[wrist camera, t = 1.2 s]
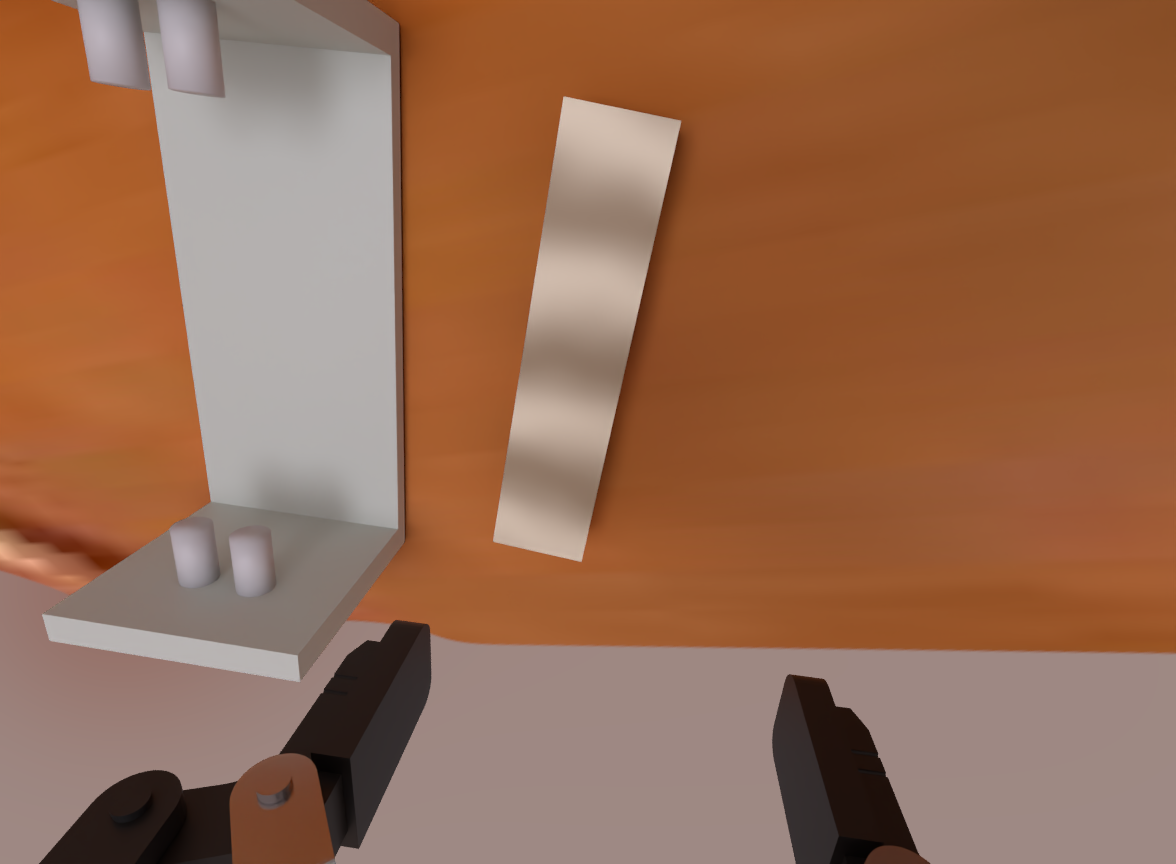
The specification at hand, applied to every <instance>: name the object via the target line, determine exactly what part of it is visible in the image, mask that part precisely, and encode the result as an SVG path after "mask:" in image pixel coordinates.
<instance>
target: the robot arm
mask: <svg viewBox="0 0 1176 864" xmlns="http://www.w3.org/2000/svg"><path fill="white" fill-rule="evenodd" d="M430 684H431V647H430V627H429V625H428V624H422V623H415V622H408V621H400V620H395V621H394V622H393V623H392V624H391V626H390V627H389V629H388V631H387V632H386V634H385V635H384V637H383V638H382V640H381V641H380V642H376V641H369V640H367V641H366V642H364V643H363V644H362V645H360V646H359V647H358V648H356V649H355V650H354V651H352V652H351V653H350V654H348V655H347V656H346V658H345V659H344V661H343V662H342V664H341V665H340V667H339V668H338V670H337V671H336V673H335V675H334V678H331V680H330V681H329V683H328V684H327V686H326V687H325V688H324V692H323V693H321V694H320V696H319V697H318V699H317V700H316V702H315V703H314V705H313V706H312V707H311V709H310V710H309V712H308V713H307V715H306V716H305V718H304V719H303V721H302V722H301V724H300V725H299V726H298V728H297V729H296V731H295V732H294V734H293V735H292V737H291V738H290V740H289V741H288V742H287V744H286V745H285V747H284V748H283V750H282V751H281V752H280V754H279V755H275V756H272V757H269V758H267V759H265V760H263V761H261V762H259V763H257V764H256V765H254V766H253V767H251V768H250V769H249V770H248V771H247V772H245V773H244V774H243V776H242V777H241V778H240V779H239V780H238V781H236V782H233V783H228V784H223V785H216V786H209V787H203V788H196V789H189V790H182V786H181V783H180V780H179V779H178V777H176V776H175V775H174V774H172V773H170V772H167V771H162V770H153V771H147V772H142V773H138V774H135V775H132V776H130V777H128V778H126V779H123V780H121V781H119V782H118V783H116V784H114V785H113V786H111V787H110V788H108V789H107V790H106V791H105V792H103V793H102V794H101V795H100V796H99V797H97V798H96V799H95V801H94V802H93V803H92V804H91V805H90V806H89V807H88V808H87V809H86V811H85V812H84V813H83V814H82V815H81V817H79V819H78V820H77V821H76V822H75V823H74V824H73V826H72V827H71V828H70V829H69V830H68V831H67V832H66V833H65V835H64V836H63V837H62V838H61V839H60V840H59V841H58V843H57V844H56V845H55V846H54V847H53V848H52V850H51V851H50V852H49V853H48V854H47V855H46V856H45V858H44V859H43V860H42V861H41V862H40V863H39V864H336V862H335V856H336V854H337V852H338V850H339V848H340V846H345V847H352V848H358V849H359V847H360V845H361V843H362V840H363V839H364V836H365V834H366V832H367V830H368V828H369V826H370V823H371V821H372V819H373V817H374V815H375V813H376V810H377V808H378V806H379V804H380V802H381V799H382V797H383V795H384V793H385V791H386V789H387V787H388V784H389V782H390V780H391V778H392V776H393V774H394V771H395V769H396V767H397V765H398V763H399V760H400V758H401V756H402V754H403V752H404V750H405V747H406V745H407V743H408V741H409V739H410V737H411V735H412V733H413V730H414V728H415V726H416V724H417V722H418V719H419V717H420V715H421V713H422V711H423V709H424V706H425V704H426V701H427V698H428V694H429V690H430ZM772 744H773V757H774V762H775V767H776V771H777V776H778V781H779V786H780V790H781V795H782V800H783V804H784V809H785V814H786V819H787V824H788V828H789V833H790V838H791V843H792V847H793V852H794V857H795V861H796V864H930V863H929V862H927V861H926V860H925V859H924V858H922V857H921V856H920V855H919V853H918V852H917V849H916V846H915V844H914V842H913V839H912V836H911V834H910V832H909V829H908V827H907V824H906V822H905V819H904V817H903V814H902V812H901V809H900V807H899V804H898V802H897V799H896V797H895V794H894V792H893V789H892V787H891V784H890V782H889V779H888V778H887V777H886V775H885V774H886V772H885V770H884V767H883V764H882V762H881V760H880V758H878V752H877V750H876V747H875V745H874V742H873V740H872V737H871V735H870V732H869V730H868V729H867V727H866V726H865V725H864V724H863V723H862V722H861V720H860V719H859V718H858V717H857V716H856V714H855V713H854V712H853V711H852V710H851V709H850V708H843V707H836V706H835V704H834V701H833V698H832V695H831V692H830V689H829V686H828V684H827V682H826V681H825V680H824V679H819V678H812V677H805V676H797V675H788V676H787V677H786V680H785V683H784V688H783V691H782V695H781V699H780V703H779V707H778V711H777V715H776V719H775V723H774V728H773V739H772Z"/></svg>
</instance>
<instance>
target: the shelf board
mask: <svg viewBox="0 0 1176 864" xmlns="http://www.w3.org/2000/svg"><path fill="white" fill-rule="evenodd" d="M680 125H681V121H680V120H675V119H670V118H665V117H660V116H656V115H651V114H646V113H641V112H636V111H631V110H627V109H622V108H617V107H612V106H607V105H602V104H598V103H593V102H588V101H583V100H578V99H573V98H569V97H564V98H563V104H562V111H561V117H560V123H559V130H558V136H557V142H556V148H555V155H554V161H553V167H552V174H551V180H550V186H549V193H548V199H547V205H546V211H545V218H544V224H543V230H542V237H541V243H540V249H539V255H538V262H537V268H536V274H535V281H534V287H533V293H532V299H531V306H530V312H529V318H528V325H527V331H526V337H525V344H524V350H523V356H522V362H521V369H520V375H519V381H518V388H517V394H516V400H515V406H514V413H513V419H512V425H511V432H510V438H509V444H508V450H507V457H506V463H505V469H504V476H503V482H502V488H501V495H500V501H499V507H498V513H497V520H496V526H495V532H494V539H493V542H496V543H501V544H505V545H510V546H514V547H518V548H523V549H527V550H532V551H536V552H540V553H545V554H549V555H553V556H558V557H562V558H567V559H571V560H575V561H580V562H582V557H583V553H584V548H585V544H586V540H587V535H588V531H589V526H590V522H591V517H592V513H593V509H594V504H595V500H596V495H597V491H598V487H599V482H600V478H601V473H602V469H603V464H604V460H605V456H606V451H607V447H608V442H609V438H610V434H611V429H612V425H613V420H614V416H615V411H616V407H617V403H618V398H619V394H620V389H621V385H622V381H623V376H624V372H625V367H626V363H627V358H628V354H629V350H630V345H631V341H632V336H633V332H634V328H635V323H636V319H637V314H638V310H639V306H640V301H641V297H642V292H643V288H644V283H645V279H646V275H647V270H648V266H649V261H650V257H651V253H652V248H653V244H654V239H655V235H656V230H657V226H658V222H659V217H660V213H661V208H662V204H663V200H664V195H665V191H666V186H667V182H668V177H669V173H670V169H671V164H672V160H673V155H674V151H675V147H676V142H677V138H678V133H679V129H680Z"/></svg>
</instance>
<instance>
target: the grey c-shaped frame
mask: <svg viewBox="0 0 1176 864" xmlns="http://www.w3.org/2000/svg"><path fill="white" fill-rule="evenodd" d="M52 1H55V2H58V3H61V4H64V5H67V6H70V7H73V8H75V9H78V10H79V16H80V22H81V28H82V33H83V39H84V45H85V50H86V56H87V62H88V68H89V73H90V79H91V81H93V82H97V83H101V84H106V85H111V86H117V87H124V88H130V89H138V90H151V86H150V79H149V72H148V65H149V71H150V78H151V85H152V92H153V99H154V106H155V113H156V120H157V127H158V134H159V141H160V148H161V155H162V162H163V169H164V176H165V183H166V190H167V197H168V204H169V211H170V218H171V225H172V232H173V239H174V246H175V253H176V260H177V267H178V274H179V281H180V288H181V295H182V302H183V309H184V316H185V323H186V330H187V337H188V344H189V351H190V358H191V365H192V372H193V379H194V386H195V393H196V400H197V407H198V414H199V421H200V428H201V435H202V442H203V449H204V456H205V463H206V470H207V477H208V483H209V490H210V497H211V502H210V503H209V504H207V505H206V506H204V507H203V508H201V509H200V510H198V511H196V512H195V513H193V514H192V515H190V516H189V517H187V518H186V519H183V520H180V521H178V522H176V523H174V524H173V525H172V526H171V527H170V529H169V530H168V531H166V532H165V533H163V534H162V535H160V536H159V537H157V538H156V539H154V540H153V541H151V542H150V543H148V544H147V545H145V546H144V547H142V548H141V549H139V550H138V551H136V552H135V553H133V554H132V555H130V556H129V557H127V558H126V559H124V560H123V561H121V562H120V563H118V564H117V565H115V566H114V567H112V568H111V569H109V570H108V571H106V572H105V573H103V574H102V575H100V576H99V577H97V578H96V579H94V580H93V581H91V582H90V583H88V584H87V585H85V586H84V587H82V588H81V589H79V590H78V591H76V592H75V593H73V594H71V595H70V596H68V597H67V598H65V599H64V600H63V601H61V602H60V603H58V604H56V605H55V606H53V607H52V608H50V609H49V610H47V611H46V612H44V613H43V614H42V616H43V619H44V623H45V626H46V630H47V633H48V637H49V640H50V641H54V642H61V643H67V644H72V645H79V646H85V647H91V648H97V649H103V650H109V651H115V652H121V653H128V654H133V655H139V656H145V657H151V658H158V659H164V660H170V661H176V662H182V663H188V664H194V665H200V666H206V667H212V668H219V669H225V670H230V671H237V672H243V673H249V674H256V675H261V676H267V677H273V678H280V679H285V680H291V681H297V682H300V681H301V680H302V679H303V677H304V676H305V675H306V673H307V672H308V671H309V669H310V668H311V667H312V665H313V664H314V663H315V661H316V660H317V659H318V657H319V656H320V654H321V653H322V652H323V651H324V649H325V648H326V646H327V645H328V644H329V643H330V641H331V640H332V639H333V637H334V636H335V635H336V633H337V632H338V630H339V629H340V628H341V626H342V625H343V624H344V623H345V621H346V620H347V619H348V617H349V616H350V615H351V613H352V612H353V610H354V609H355V608H356V606H357V605H358V604H359V602H360V601H361V600H362V598H363V597H364V596H365V594H366V593H367V592H368V590H369V589H370V588H371V586H372V585H373V584H374V582H375V581H376V580H377V578H378V577H379V576H380V574H381V573H382V572H383V570H384V569H385V568H386V566H387V565H388V564H389V562H390V561H391V560H392V558H393V557H394V556H395V554H396V553H397V552H398V550H399V549H400V548H401V546H402V545H403V544H404V542H405V511H404V421H403V330H402V239H401V148H400V58H399V23H398V22H396V21H395V20H394V19H392V18H391V17H389V16H388V15H387V14H385V13H384V12H382V11H381V10H380V9H378V8H377V7H375V6H374V5H373V4H371V3H370V2H368V1H367V0H52ZM143 32H144V37H145V44H146V51H147V58H148V65H147V58H146V51H145V44H144V37H143Z"/></svg>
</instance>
